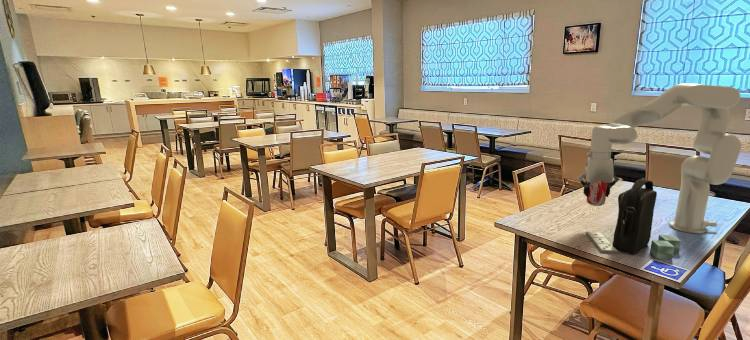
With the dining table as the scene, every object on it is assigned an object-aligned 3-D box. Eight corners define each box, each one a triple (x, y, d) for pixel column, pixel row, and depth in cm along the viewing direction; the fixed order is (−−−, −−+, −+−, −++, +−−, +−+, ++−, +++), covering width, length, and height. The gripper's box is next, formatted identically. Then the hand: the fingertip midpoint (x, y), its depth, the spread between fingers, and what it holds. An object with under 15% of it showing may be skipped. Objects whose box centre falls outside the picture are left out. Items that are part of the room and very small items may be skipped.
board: (600, 234, 159) (600, 232, 159) (617, 253, 142) (618, 250, 142) (585, 233, 160) (586, 231, 160) (601, 252, 143) (601, 249, 143)
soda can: (607, 207, 160) (610, 179, 157) (589, 206, 162) (591, 179, 159) (601, 201, 167) (604, 175, 164) (583, 201, 168) (586, 175, 166)
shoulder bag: (632, 261, 137) (644, 186, 130) (605, 253, 144) (615, 181, 137) (653, 244, 150) (665, 175, 144) (627, 237, 157) (637, 171, 151)
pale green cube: (671, 247, 146) (673, 235, 145) (678, 253, 142) (681, 240, 140) (657, 246, 147) (659, 234, 146) (663, 252, 143) (665, 240, 142)
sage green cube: (665, 253, 142) (667, 241, 141) (672, 259, 137) (674, 246, 136) (649, 252, 143) (651, 240, 142) (656, 258, 138) (658, 245, 137)
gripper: (580, 157, 158) (576, 198, 162) (627, 157, 154) (622, 199, 158) (575, 153, 165) (571, 192, 169) (619, 153, 161) (615, 193, 165)
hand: (596, 195), depth 163 cm, fingers closed on soda can, 7 cm apart
